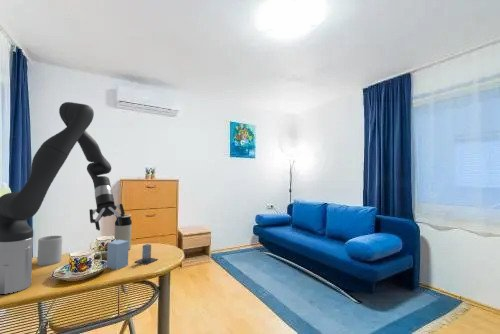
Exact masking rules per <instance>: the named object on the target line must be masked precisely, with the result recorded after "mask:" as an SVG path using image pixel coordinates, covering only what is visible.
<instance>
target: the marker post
mask: <svg viewBox="0 0 500 334" xmlns="http://www.w3.org/2000/svg"><path fill="white" fill-rule="evenodd" d="M141 257H142V258H140V259H138V260H135V261H134V263H137V264H141V265H145V266H146V265H150V264H152V263H154V262H157V261H158V260H159V259H158V258H155V257H154V258H153V257H152V244H148V243H147V244H143V245H142V253H141Z"/></svg>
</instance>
